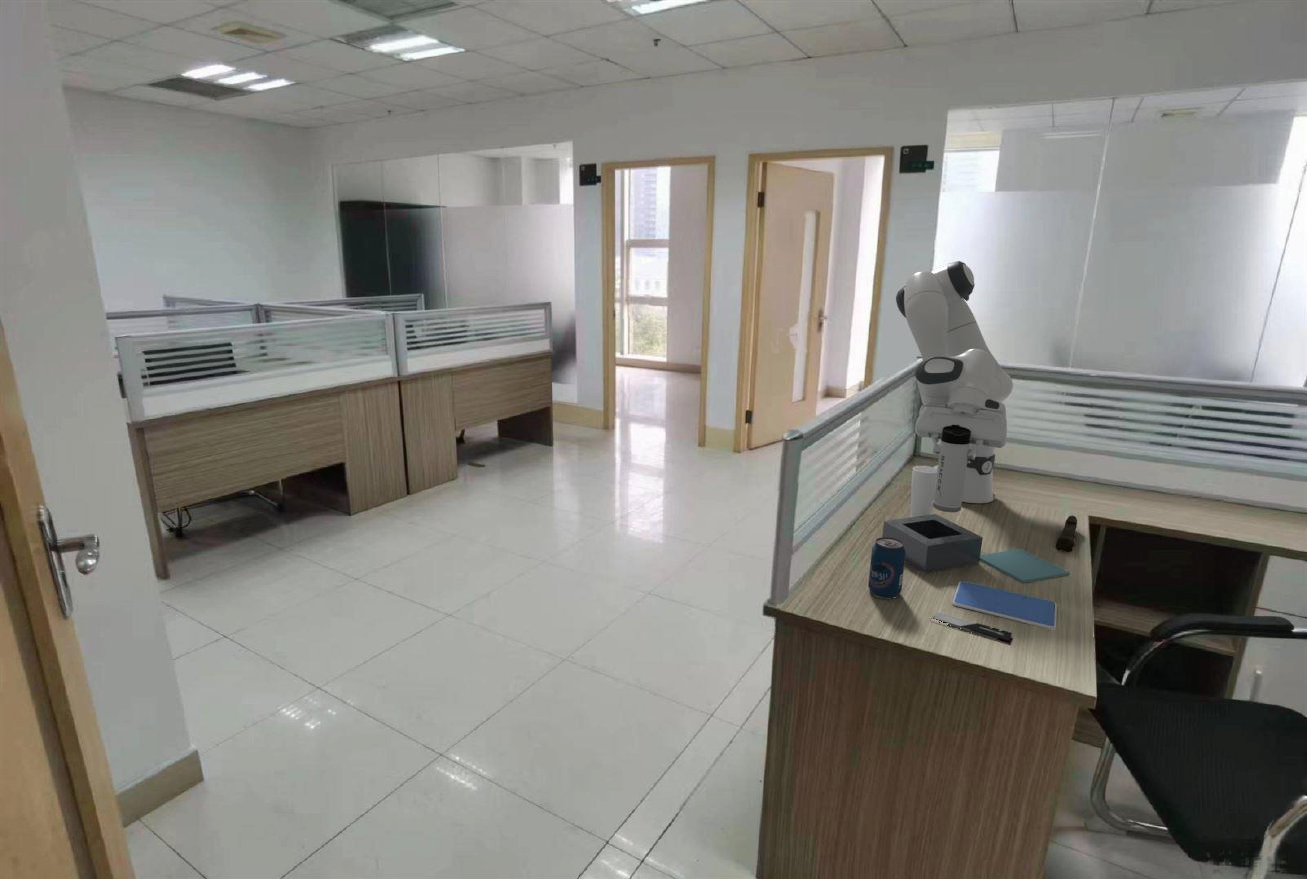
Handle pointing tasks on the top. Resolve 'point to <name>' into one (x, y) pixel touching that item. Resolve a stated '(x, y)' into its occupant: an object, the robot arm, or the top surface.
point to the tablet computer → (1006, 604)
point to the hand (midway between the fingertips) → (953, 455)
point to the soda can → (887, 567)
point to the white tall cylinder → (922, 490)
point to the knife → (976, 628)
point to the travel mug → (951, 468)
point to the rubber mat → (1022, 565)
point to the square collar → (935, 542)
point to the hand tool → (1067, 535)
